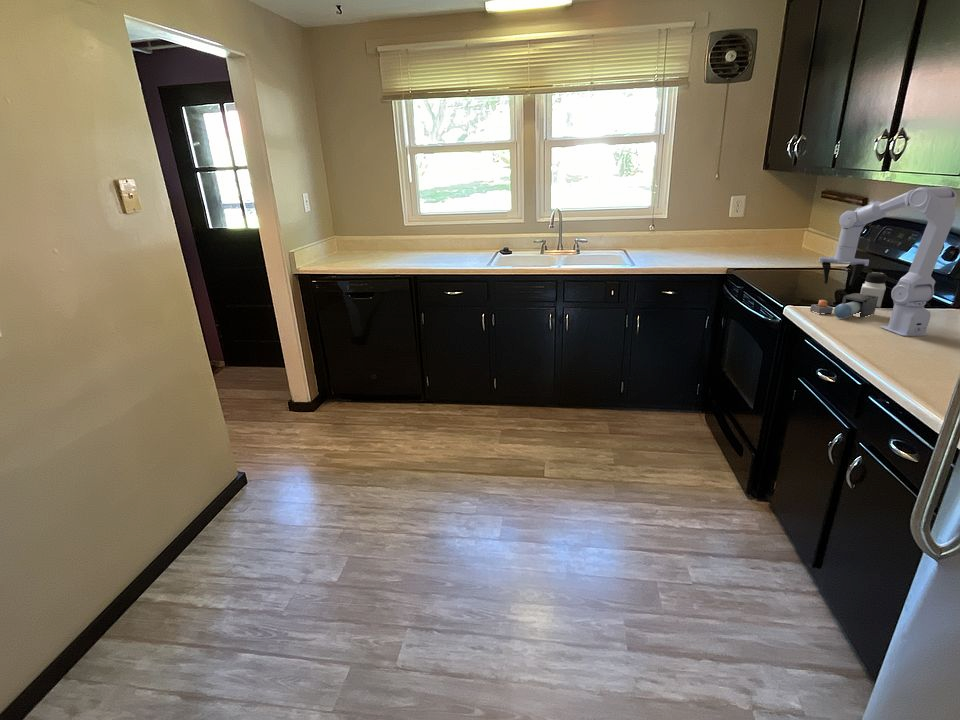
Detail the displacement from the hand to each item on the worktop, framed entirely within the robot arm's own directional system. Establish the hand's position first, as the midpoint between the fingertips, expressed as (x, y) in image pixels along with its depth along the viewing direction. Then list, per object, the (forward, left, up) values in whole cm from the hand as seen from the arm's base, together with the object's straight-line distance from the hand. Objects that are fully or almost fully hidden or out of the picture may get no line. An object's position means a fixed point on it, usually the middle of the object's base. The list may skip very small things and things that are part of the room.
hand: (838, 284), depth 185 cm
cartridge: (-8, -1, -9) cm, 12 cm away
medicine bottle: (+6, -19, -10) cm, 22 cm away
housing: (-6, -5, -10) cm, 12 cm away
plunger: (-3, +6, -8) cm, 11 cm away
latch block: (-3, +6, -10) cm, 12 cm away
